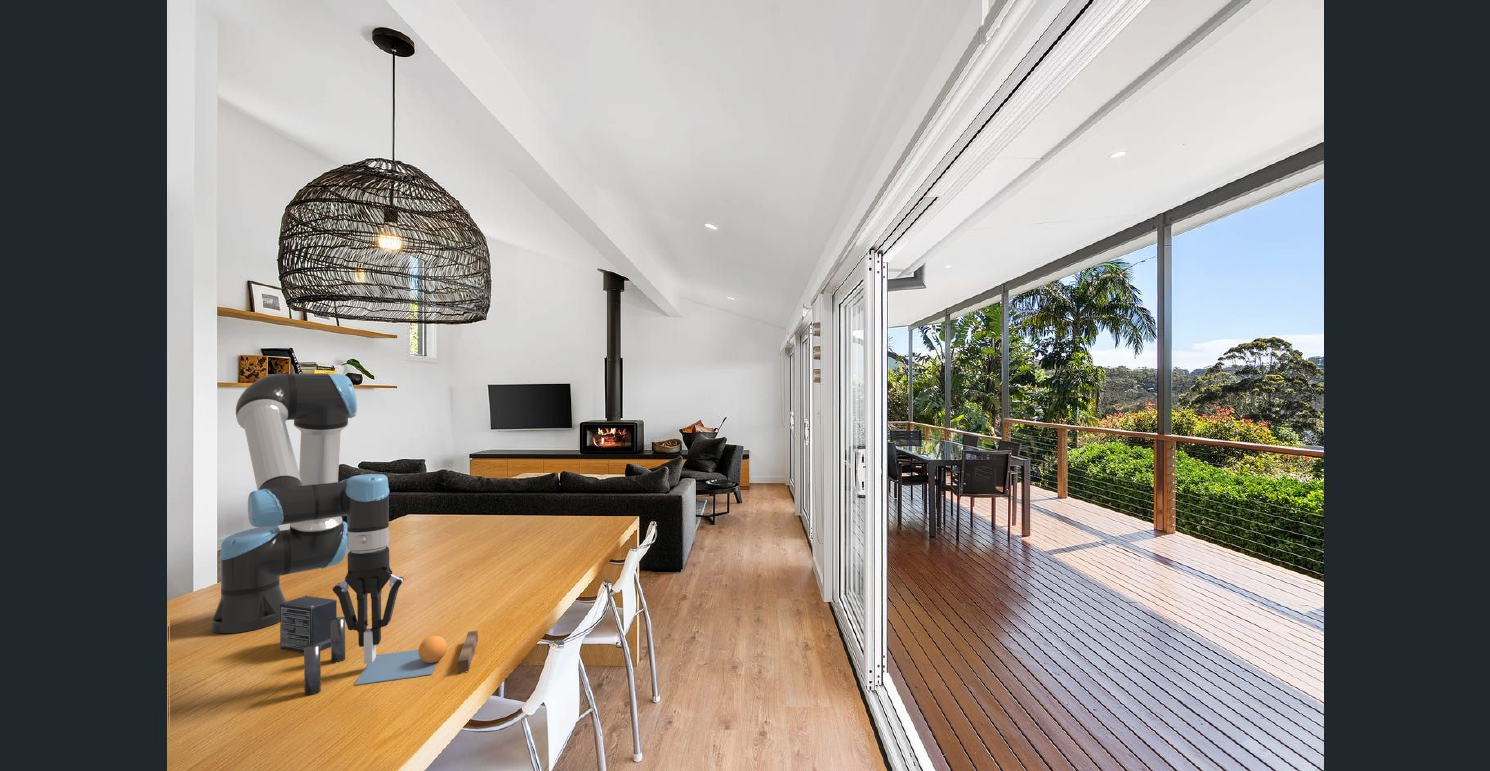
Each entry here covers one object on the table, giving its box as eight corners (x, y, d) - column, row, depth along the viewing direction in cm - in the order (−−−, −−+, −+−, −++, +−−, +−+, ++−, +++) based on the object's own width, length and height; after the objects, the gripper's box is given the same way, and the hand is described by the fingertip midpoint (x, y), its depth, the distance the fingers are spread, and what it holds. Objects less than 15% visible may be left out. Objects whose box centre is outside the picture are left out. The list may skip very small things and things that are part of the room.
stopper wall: (468, 642, 141) (468, 631, 141) (477, 641, 141) (477, 630, 141) (457, 673, 126) (457, 661, 126) (468, 671, 126) (468, 659, 126)
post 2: (333, 658, 133) (333, 617, 133) (347, 656, 134) (346, 616, 134) (329, 663, 131) (328, 621, 131) (343, 661, 132) (342, 620, 132)
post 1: (307, 689, 119) (307, 644, 119) (322, 687, 120) (322, 642, 120) (302, 696, 117) (301, 649, 117) (318, 694, 118) (317, 647, 118)
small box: (339, 643, 141) (338, 598, 141) (311, 655, 135) (310, 608, 135) (307, 637, 145) (306, 594, 145) (278, 649, 139) (278, 603, 139)
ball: (454, 647, 134) (429, 662, 133) (441, 626, 134) (416, 641, 132) (449, 656, 129) (424, 672, 128) (436, 635, 129) (410, 650, 127)
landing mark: (374, 655, 134) (374, 655, 134) (444, 647, 138) (444, 646, 138) (354, 685, 121) (354, 684, 121) (432, 674, 125) (432, 673, 125)
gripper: (326, 556, 122) (327, 673, 122) (398, 550, 126) (400, 663, 126) (339, 547, 129) (340, 657, 129) (407, 541, 133) (408, 648, 133)
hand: (370, 660), depth 128 cm, fingers closed
